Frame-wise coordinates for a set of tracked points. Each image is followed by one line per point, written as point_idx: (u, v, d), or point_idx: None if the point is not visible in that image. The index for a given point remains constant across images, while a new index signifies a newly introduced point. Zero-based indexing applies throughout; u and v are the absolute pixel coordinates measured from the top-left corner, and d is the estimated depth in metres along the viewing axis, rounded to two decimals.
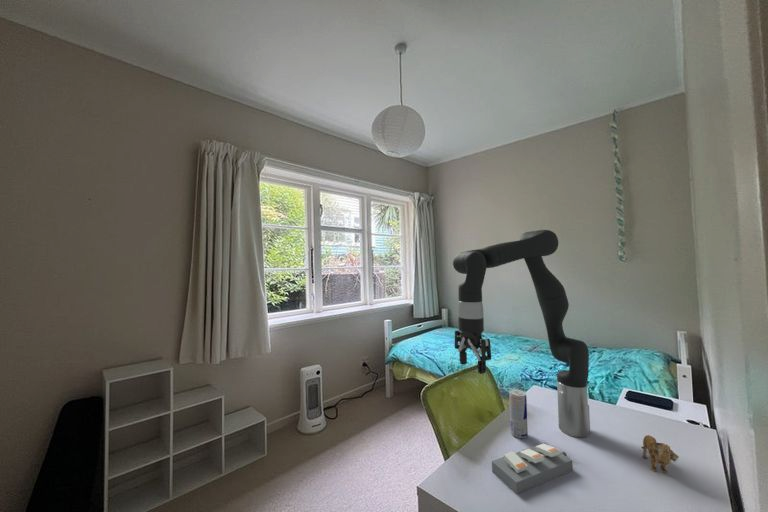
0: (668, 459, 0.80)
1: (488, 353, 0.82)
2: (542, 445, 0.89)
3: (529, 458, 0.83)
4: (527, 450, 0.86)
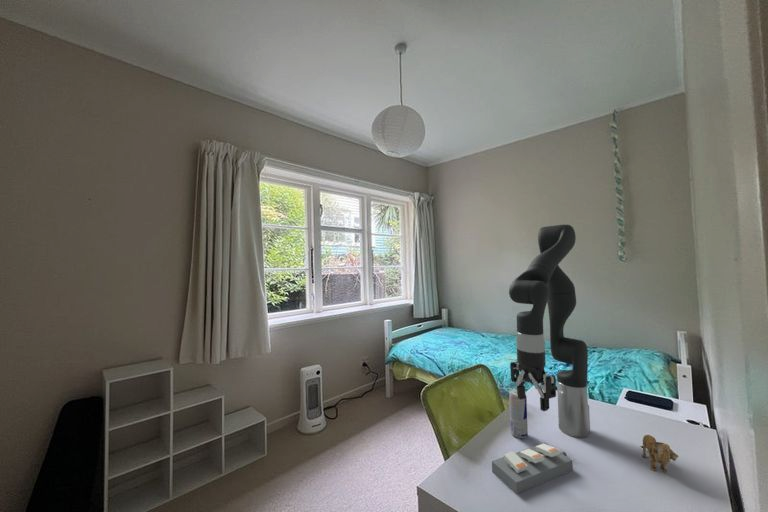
0: (668, 458, 0.80)
1: (553, 390, 0.79)
2: (542, 445, 0.89)
3: (529, 458, 0.83)
4: (527, 450, 0.86)
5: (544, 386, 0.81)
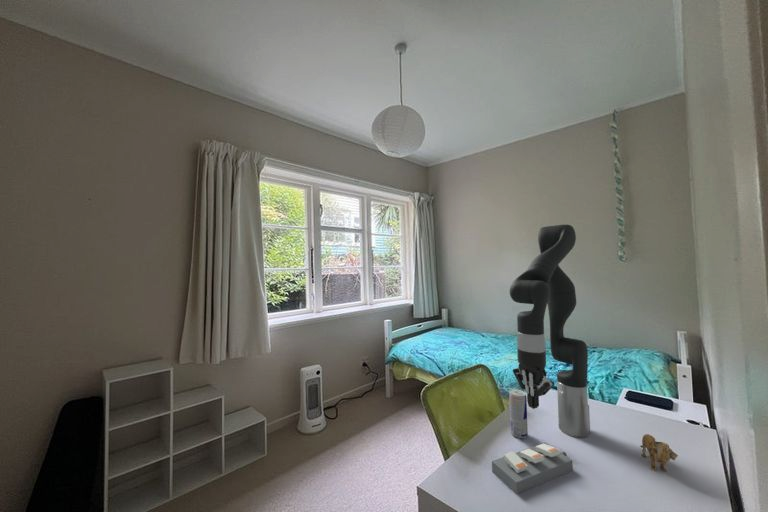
0: (667, 458, 0.80)
1: None
2: (542, 445, 0.89)
3: (529, 458, 0.83)
4: (527, 450, 0.86)
5: (538, 386, 0.83)
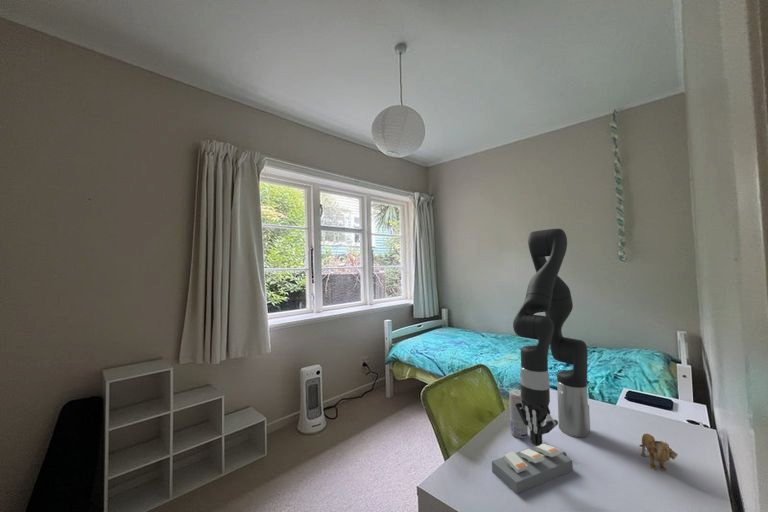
0: (667, 457, 0.80)
1: None
2: (542, 445, 0.89)
3: (529, 458, 0.83)
4: (527, 450, 0.86)
5: (541, 424, 0.81)
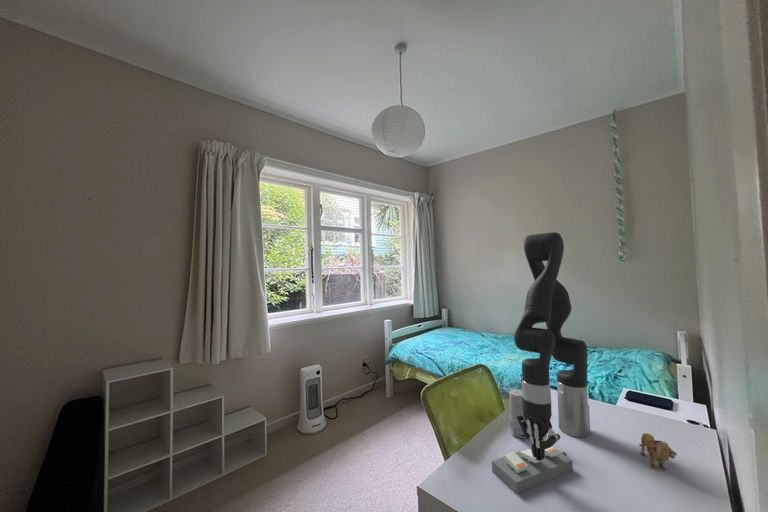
0: (667, 456, 0.81)
1: None
2: None
3: (529, 459, 0.83)
4: (527, 450, 0.86)
5: (544, 438, 0.81)
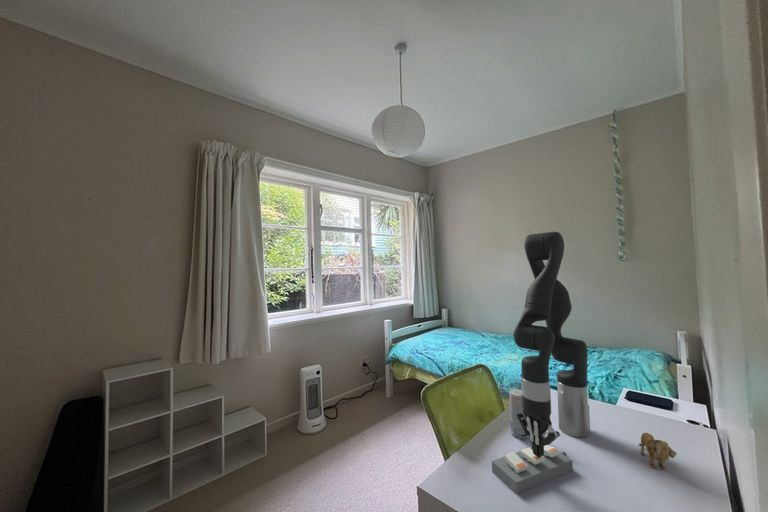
0: (666, 456, 0.81)
1: None
2: None
3: (529, 459, 0.83)
4: (527, 449, 0.86)
5: (543, 435, 0.81)
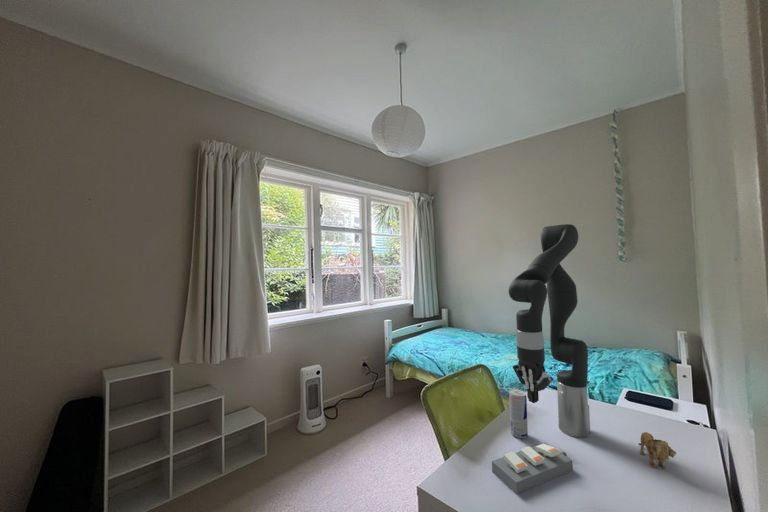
0: (666, 455, 0.81)
1: None
2: (542, 445, 0.89)
3: (529, 459, 0.83)
4: (527, 448, 0.86)
5: (537, 382, 0.86)
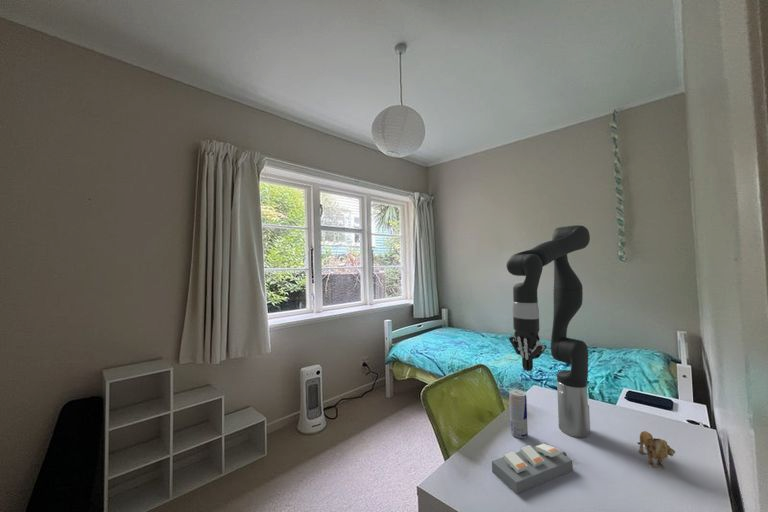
0: (665, 454, 0.82)
1: None
2: (542, 445, 0.89)
3: (529, 460, 0.83)
4: (528, 447, 0.86)
5: (532, 351, 0.90)
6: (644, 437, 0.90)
